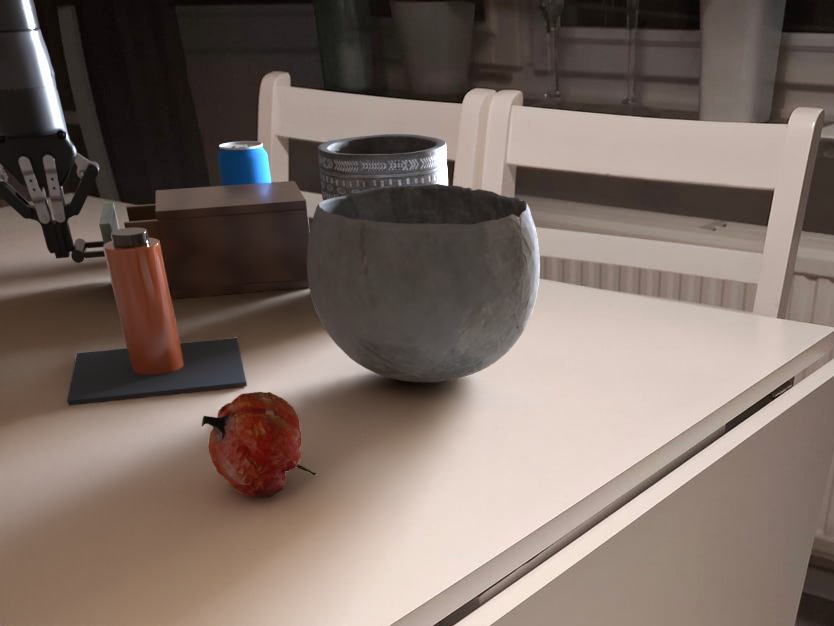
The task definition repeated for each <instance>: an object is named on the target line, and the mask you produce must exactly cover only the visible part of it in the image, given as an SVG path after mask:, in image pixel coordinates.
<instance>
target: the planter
mask: <svg viewBox="0 0 834 626" xmlns="http://www.w3.org/2000/svg"><path fill="white" fill-rule="evenodd" d="M447 156H448V155H447V142H446V141H445V140H443V139H441V138H438V137H432V136H427V135H420V134H412V133H411V134H410V133H409V134H408V133H386V134H374V135H362V136H352V137H346V138H345V137H344V138H339V139H333V140H328V141H324V142H322V143H321V144H319V145H318V146H317V158H318V168H319V181H320V187H321V188H320V189H321V199H322V201H324V200H327V199H330V198H335V197H341V196H346V195H349V194H351V193H353V192H361V191H364V190H368V189H372V188H379V187H385V186H403V185H429V184H441V185H449V175H448V164H447V163H448V160H447V159H448V158H447Z"/></svg>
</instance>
